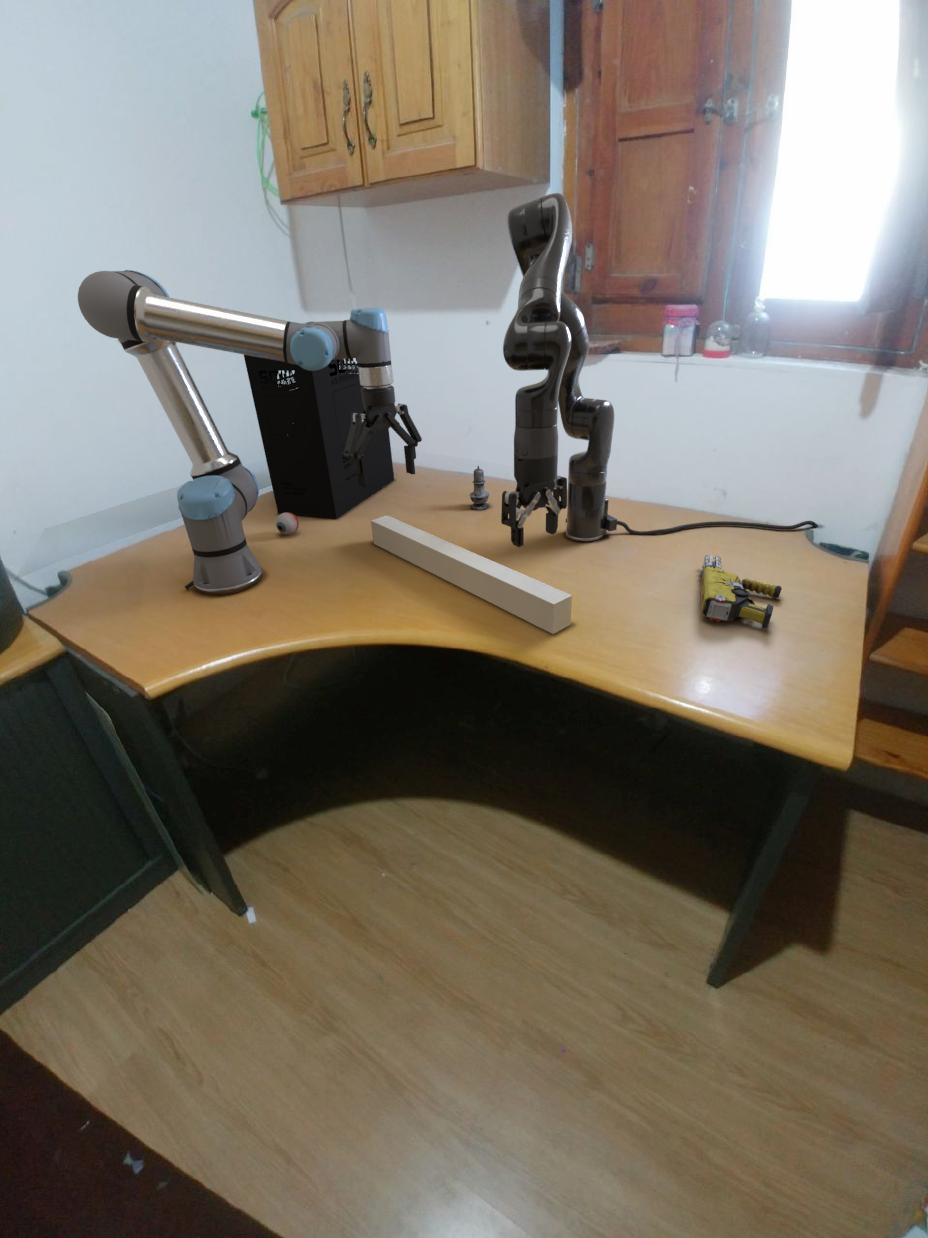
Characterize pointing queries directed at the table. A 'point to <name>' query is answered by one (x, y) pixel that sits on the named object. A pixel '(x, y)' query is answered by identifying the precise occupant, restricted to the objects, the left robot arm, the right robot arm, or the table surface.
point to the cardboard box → (314, 436)
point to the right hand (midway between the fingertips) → (534, 539)
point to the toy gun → (732, 595)
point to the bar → (476, 574)
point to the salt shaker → (479, 491)
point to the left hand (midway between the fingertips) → (387, 479)
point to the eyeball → (287, 523)
